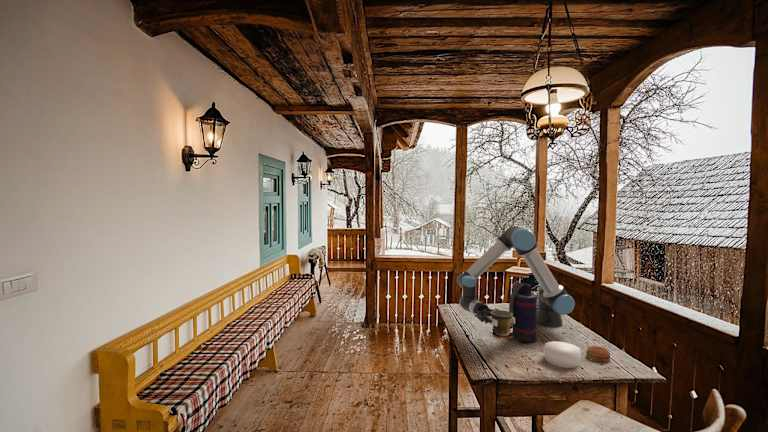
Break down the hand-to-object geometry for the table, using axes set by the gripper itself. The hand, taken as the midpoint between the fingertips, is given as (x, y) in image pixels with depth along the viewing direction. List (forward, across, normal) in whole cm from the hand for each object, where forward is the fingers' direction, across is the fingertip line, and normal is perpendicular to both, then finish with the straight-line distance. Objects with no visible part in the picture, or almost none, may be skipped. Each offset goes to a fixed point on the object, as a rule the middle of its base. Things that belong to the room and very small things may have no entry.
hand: (505, 322), depth 177 cm
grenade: (-12, -20, -16) cm, 28 cm away
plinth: (+15, -20, -16) cm, 29 cm away
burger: (+18, -38, -17) cm, 45 cm away
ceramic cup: (-4, +1, -7) cm, 8 cm away
